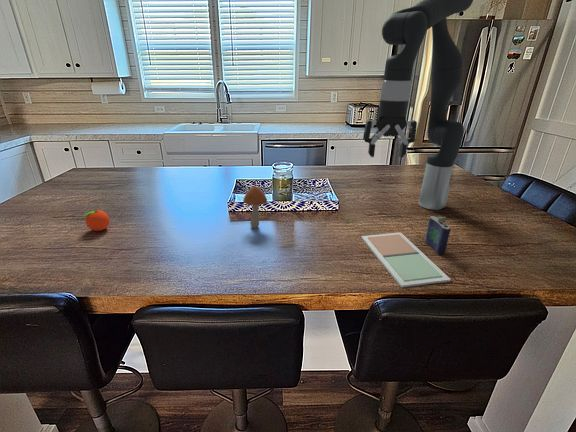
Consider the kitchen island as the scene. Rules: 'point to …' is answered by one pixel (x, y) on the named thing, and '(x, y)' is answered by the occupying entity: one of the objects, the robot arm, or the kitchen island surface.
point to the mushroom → (255, 203)
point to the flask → (437, 234)
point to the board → (404, 260)
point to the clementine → (97, 220)
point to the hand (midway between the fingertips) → (386, 156)
